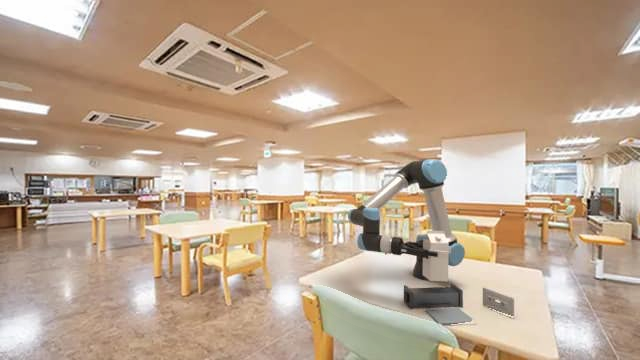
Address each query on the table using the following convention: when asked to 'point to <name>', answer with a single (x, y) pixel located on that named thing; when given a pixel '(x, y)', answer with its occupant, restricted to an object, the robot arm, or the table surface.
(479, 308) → the table surface
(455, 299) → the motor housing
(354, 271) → the table surface
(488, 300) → the cassette
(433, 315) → the slate mat
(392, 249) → the robot arm
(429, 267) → the milk carton
